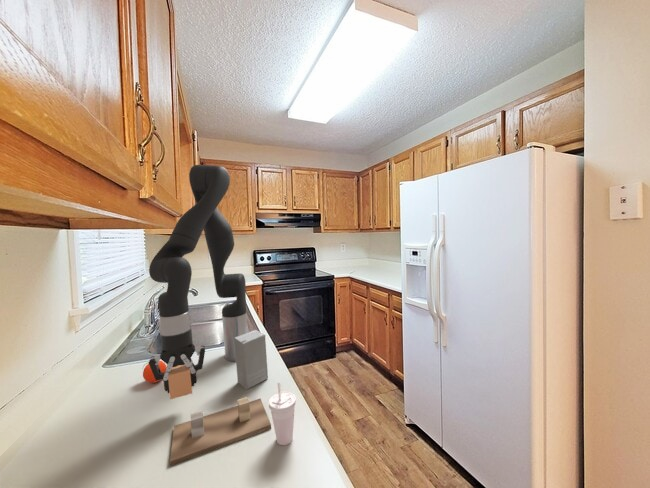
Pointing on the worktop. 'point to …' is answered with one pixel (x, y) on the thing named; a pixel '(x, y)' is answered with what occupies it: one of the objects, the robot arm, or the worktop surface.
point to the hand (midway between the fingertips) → (181, 387)
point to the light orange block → (179, 381)
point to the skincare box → (251, 358)
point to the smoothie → (283, 415)
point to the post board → (218, 429)
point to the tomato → (148, 372)
